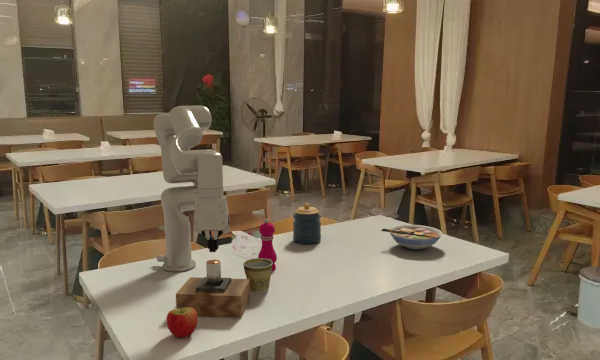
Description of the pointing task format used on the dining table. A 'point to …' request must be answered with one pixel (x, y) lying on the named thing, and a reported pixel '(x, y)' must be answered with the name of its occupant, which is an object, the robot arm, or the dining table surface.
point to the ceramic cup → (258, 274)
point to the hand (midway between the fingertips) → (213, 251)
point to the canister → (306, 225)
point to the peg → (213, 272)
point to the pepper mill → (267, 242)
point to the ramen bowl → (414, 236)
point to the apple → (182, 321)
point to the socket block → (215, 297)
